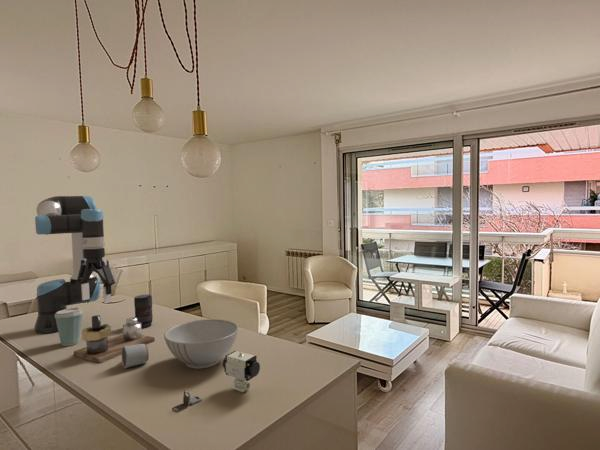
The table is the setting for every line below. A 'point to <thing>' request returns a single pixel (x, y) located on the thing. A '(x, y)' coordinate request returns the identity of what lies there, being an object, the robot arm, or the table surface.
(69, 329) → the disposable coffee cup
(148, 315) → the camera lens
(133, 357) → the ceramic mug
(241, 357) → the pneumatic valve
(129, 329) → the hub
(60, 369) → the table surface
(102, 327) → the ring
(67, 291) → the robot arm
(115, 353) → the board
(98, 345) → the nail polish bottle
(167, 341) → the decorative bowl
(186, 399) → the strap clip
